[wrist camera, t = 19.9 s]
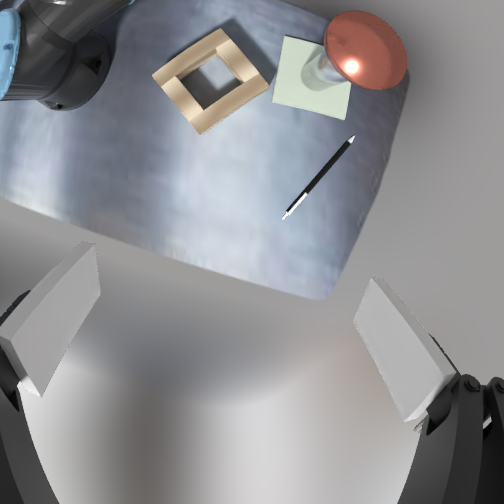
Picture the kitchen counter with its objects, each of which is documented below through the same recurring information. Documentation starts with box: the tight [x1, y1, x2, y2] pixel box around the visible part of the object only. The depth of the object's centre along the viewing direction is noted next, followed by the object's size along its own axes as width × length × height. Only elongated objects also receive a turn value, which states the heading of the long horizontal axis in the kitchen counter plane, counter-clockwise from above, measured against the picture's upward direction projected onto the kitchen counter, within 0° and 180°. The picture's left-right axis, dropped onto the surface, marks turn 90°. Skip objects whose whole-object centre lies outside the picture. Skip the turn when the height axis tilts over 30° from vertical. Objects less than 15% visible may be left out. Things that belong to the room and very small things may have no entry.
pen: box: [282, 135, 355, 220], centre depth 42 cm, size 1×19×1 cm, turn 141°
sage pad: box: [272, 36, 351, 120], centre depth 35 cm, size 12×12×1 cm
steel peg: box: [300, 11, 407, 91], centre depth 26 cm, size 9×9×18 cm
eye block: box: [152, 28, 270, 135], centre depth 33 cm, size 12×12×4 cm
